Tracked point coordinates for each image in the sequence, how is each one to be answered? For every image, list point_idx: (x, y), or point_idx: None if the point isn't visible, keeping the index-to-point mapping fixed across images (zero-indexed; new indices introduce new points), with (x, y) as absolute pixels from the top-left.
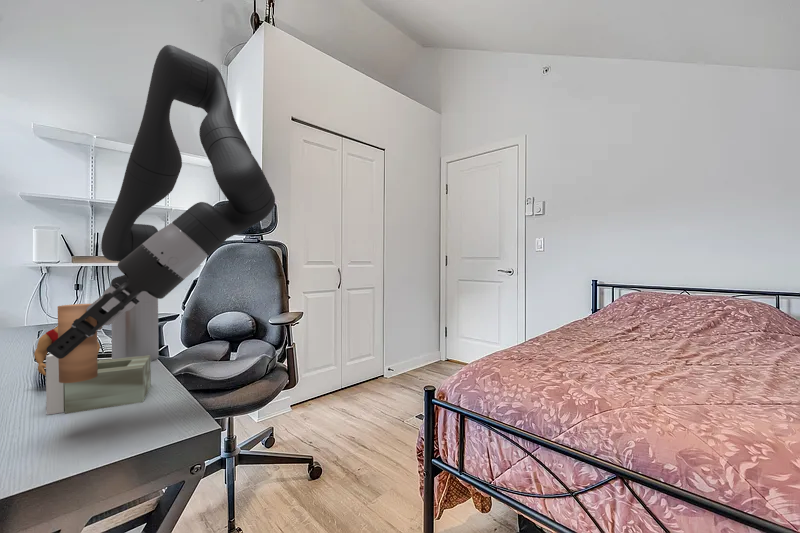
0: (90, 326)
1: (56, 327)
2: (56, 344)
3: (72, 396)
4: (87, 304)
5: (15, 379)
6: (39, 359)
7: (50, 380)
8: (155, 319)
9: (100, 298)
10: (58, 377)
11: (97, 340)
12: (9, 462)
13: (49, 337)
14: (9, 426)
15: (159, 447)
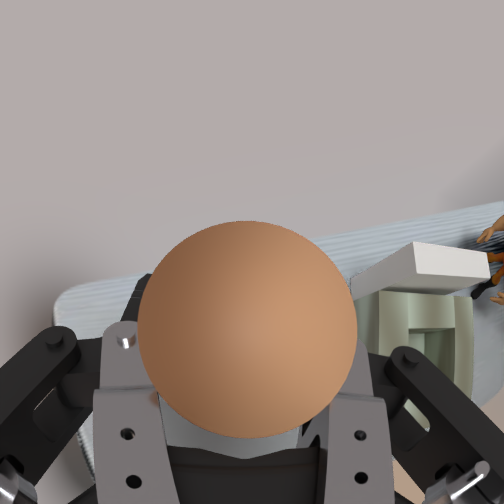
0: (55, 392)
1: None
2: (138, 286)
3: (356, 311)
4: (286, 381)
5: (500, 209)
6: (497, 225)
7: (383, 267)
8: None
9: (100, 484)
10: (385, 278)
11: None
12: (152, 273)
13: None
14: (321, 240)
15: (84, 446)
